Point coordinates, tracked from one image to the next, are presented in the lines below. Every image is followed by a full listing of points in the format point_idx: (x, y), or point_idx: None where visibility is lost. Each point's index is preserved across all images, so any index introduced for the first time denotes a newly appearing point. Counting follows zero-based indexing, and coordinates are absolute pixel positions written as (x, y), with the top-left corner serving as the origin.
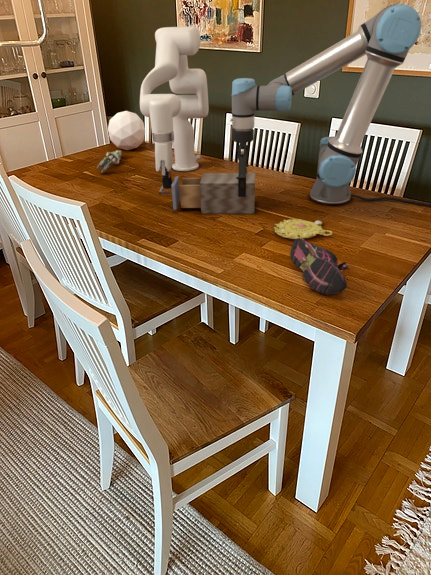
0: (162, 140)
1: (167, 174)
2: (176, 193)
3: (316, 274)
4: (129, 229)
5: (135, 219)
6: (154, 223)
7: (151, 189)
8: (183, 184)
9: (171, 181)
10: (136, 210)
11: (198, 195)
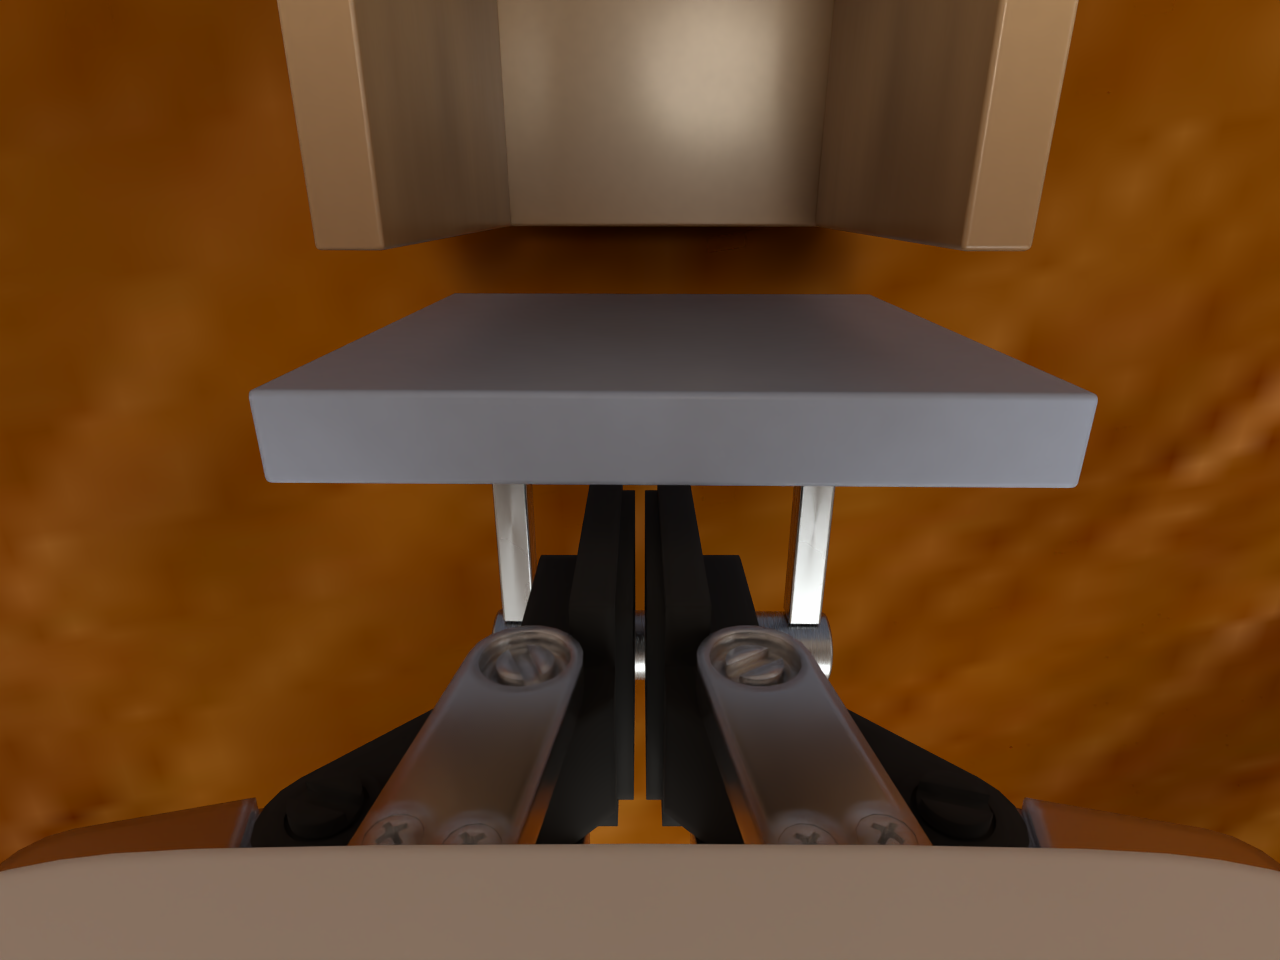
0: None
1: (970, 787)
2: (816, 333)
3: None
4: (1275, 746)
5: (1010, 739)
6: (1180, 525)
7: (71, 736)
8: (434, 216)
9: (616, 535)
10: None
11: None
